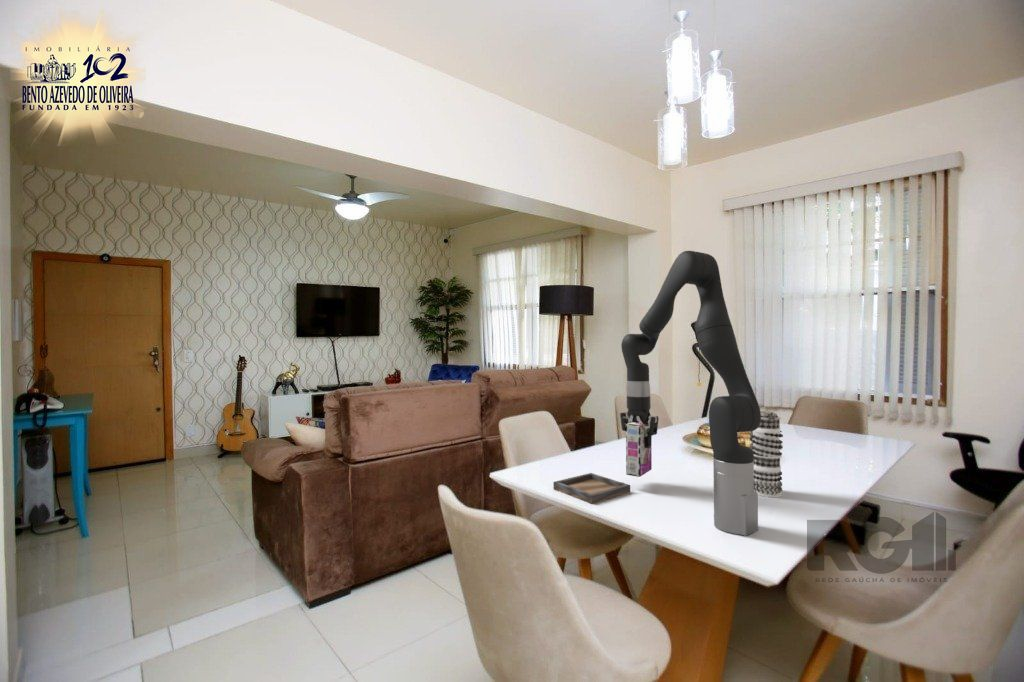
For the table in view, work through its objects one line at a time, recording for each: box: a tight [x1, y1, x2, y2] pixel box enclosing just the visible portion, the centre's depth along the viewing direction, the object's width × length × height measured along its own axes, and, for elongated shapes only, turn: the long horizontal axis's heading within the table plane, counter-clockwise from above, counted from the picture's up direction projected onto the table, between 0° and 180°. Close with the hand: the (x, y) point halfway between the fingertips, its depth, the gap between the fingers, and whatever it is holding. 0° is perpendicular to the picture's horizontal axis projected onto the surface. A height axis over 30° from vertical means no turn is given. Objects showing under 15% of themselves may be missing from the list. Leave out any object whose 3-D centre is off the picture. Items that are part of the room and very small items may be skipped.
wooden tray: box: [553, 472, 631, 505], centre depth 145 cm, size 17×17×2 cm
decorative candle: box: [748, 410, 784, 498], centre depth 142 cm, size 9×9×25 cm
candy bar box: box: [625, 422, 653, 478], centre depth 150 cm, size 11×5×16 cm, turn 144°
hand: (639, 445), depth 150 cm, fingers closed on candy bar box, 6 cm apart
